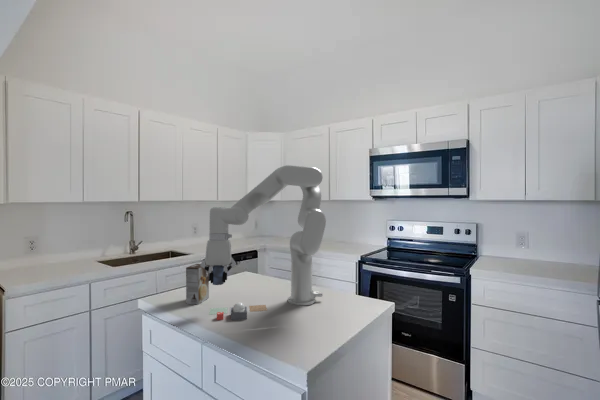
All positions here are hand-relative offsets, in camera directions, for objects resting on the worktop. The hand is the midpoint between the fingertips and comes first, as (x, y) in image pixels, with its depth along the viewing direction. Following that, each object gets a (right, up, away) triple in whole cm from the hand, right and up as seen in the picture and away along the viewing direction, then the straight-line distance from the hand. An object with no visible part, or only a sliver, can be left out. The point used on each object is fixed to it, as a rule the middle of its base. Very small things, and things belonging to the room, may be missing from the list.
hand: (218, 281), depth 124 cm
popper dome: (+10, -13, -6) cm, 17 cm away
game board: (+9, -12, -2) cm, 15 cm away
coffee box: (-13, -13, +14) cm, 23 cm away
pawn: (0, -1, 0) cm, 1 cm away
